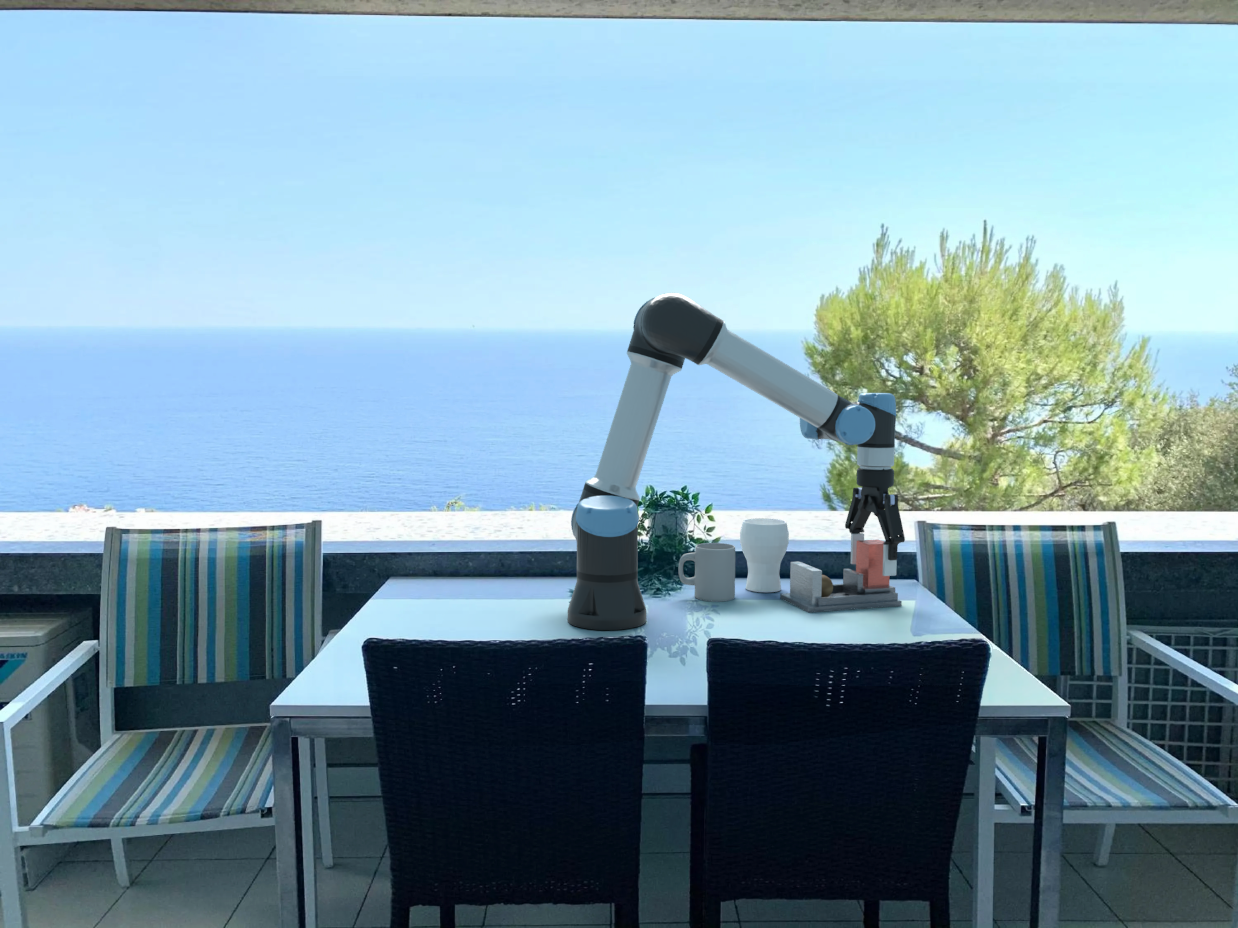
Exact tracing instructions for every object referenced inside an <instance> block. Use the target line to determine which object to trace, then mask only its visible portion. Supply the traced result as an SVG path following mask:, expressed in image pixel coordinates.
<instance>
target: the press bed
mask: <svg viewBox="0 0 1238 928" xmlns="http://www.w3.org/2000/svg"><path fill="white" fill-rule="evenodd" d="M789 568H790V573H789V581H790V582H789V592H787V593H780V594H779V598H780V600H783V601H784V602H787V604H788V603H789V604H790V605H793V606H795V607H796V608H799V609H801V610H803V611H805V612H807V613H821V612H833V611H834V612H835V611H836V612H837V611H847V610H850V611H852V610H863V609H877V608H889V607H893V608H894V607H902V604H903V603H902V602H903V601H902V600H900V599H898V598H899V595H898V594H899V593H898V592H896V591H895V592H892V593H877V594H862V595H848V594H846V593H843V583H833V591H832V593H831V595H830V596H829V597H821V591H822V575H823V570H821V569H819V568H816V567H814V566H811V565H809V564H806V563H804V562H802V561H790V567H789Z"/></svg>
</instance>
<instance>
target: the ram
mask: <svg viewBox="0 0 1238 928" xmlns="http://www.w3.org/2000/svg"><path fill="white" fill-rule="evenodd" d="M884 542H885V541H884V540H880V539H866V540H865V539H864V540H859V541H857V551H856V564H855V570H854V569H851V568H843V570H842V571H843V572H842V573H843V575H842V576H843V579H842V584H843V593H846V594H848V595H862V594H877V593H892V592H896V587H894V586H893V585H890V579H891V578H890V576H883V543H884Z"/></svg>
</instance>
